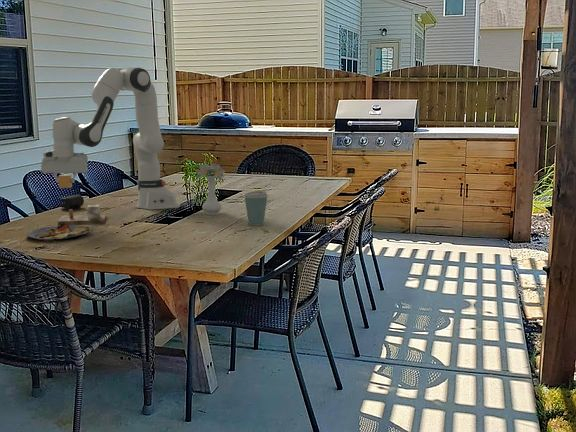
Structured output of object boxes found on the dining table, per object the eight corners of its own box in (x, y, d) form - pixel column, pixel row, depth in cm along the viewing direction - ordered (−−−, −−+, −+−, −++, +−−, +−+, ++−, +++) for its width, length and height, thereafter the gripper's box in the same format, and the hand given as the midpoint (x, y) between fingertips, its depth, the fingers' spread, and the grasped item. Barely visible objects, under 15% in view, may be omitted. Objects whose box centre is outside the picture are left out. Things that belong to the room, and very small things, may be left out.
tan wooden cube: (72, 186, 305) (71, 174, 304) (70, 187, 300) (69, 176, 299) (60, 186, 304) (60, 174, 303) (59, 188, 299) (58, 176, 298)
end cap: (71, 211, 327) (70, 197, 326) (60, 210, 330) (59, 196, 328) (84, 207, 336) (83, 194, 335) (73, 206, 339) (72, 194, 337)
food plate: (69, 227, 287) (69, 219, 287) (101, 235, 273) (100, 227, 272) (16, 238, 269) (15, 230, 268) (46, 247, 254) (46, 238, 253)
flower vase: (227, 210, 330) (227, 161, 325) (221, 217, 312) (220, 165, 307) (202, 210, 331) (201, 161, 326) (194, 216, 313) (193, 165, 308)
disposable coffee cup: (250, 227, 288) (249, 194, 286) (240, 223, 298) (240, 191, 295) (271, 225, 293) (271, 192, 290) (261, 221, 303) (261, 189, 300)
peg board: (106, 217, 310) (105, 203, 309) (103, 223, 297) (103, 208, 295) (62, 218, 307) (61, 204, 305) (57, 224, 293) (56, 209, 292)
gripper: (88, 152, 304) (89, 181, 306) (42, 152, 301) (44, 182, 303) (86, 153, 298) (87, 183, 300) (39, 153, 294) (41, 183, 297)
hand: (65, 182), depth 302 cm, fingers closed on tan wooden cube, 5 cm apart
